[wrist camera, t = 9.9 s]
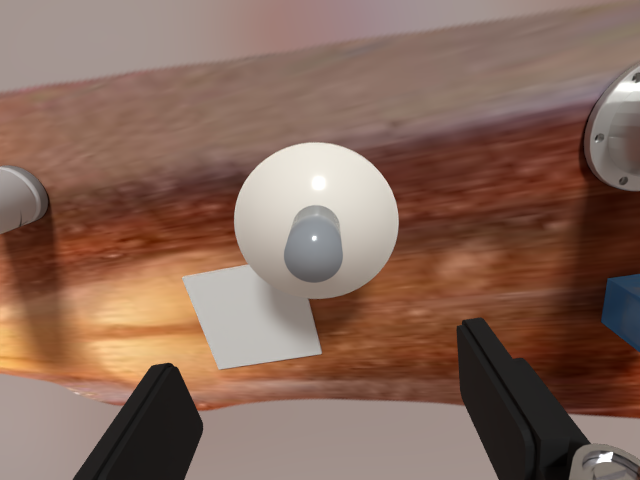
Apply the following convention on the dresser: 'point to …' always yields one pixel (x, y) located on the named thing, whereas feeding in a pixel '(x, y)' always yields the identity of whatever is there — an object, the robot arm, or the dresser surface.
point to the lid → (316, 220)
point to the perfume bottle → (623, 308)
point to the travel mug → (20, 198)
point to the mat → (250, 318)
